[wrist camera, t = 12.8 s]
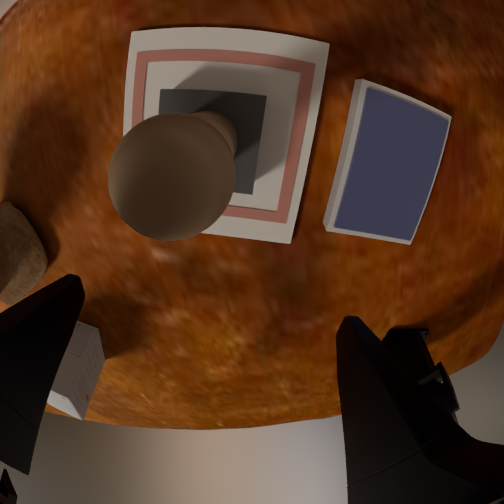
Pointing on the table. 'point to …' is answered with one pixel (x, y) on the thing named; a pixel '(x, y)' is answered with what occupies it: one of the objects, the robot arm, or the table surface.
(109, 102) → the table surface
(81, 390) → the small box
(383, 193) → the ink pad
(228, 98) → the stamp
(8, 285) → the stone cup
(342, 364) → the robot arm
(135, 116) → the board
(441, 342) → the table surface
